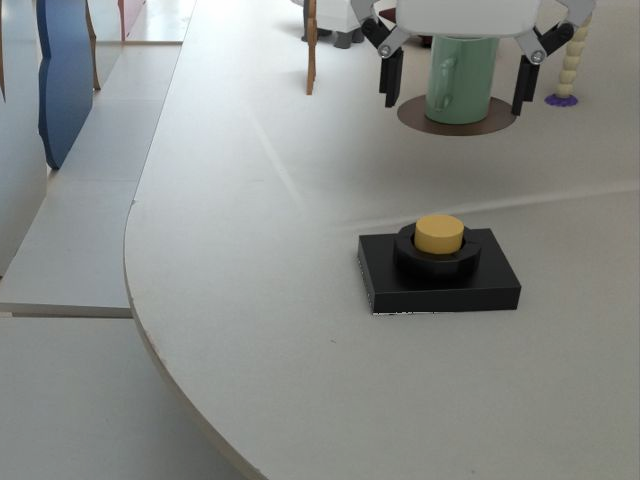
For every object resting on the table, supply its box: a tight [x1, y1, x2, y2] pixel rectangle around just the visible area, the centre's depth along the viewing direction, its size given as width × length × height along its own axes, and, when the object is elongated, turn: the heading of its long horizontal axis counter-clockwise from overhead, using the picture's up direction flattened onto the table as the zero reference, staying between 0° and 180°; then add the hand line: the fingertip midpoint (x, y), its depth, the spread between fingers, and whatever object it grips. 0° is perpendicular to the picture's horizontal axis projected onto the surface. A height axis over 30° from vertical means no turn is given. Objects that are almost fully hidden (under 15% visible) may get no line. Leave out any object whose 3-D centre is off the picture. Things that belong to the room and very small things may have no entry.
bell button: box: [414, 213, 465, 254], centre depth 62 cm, size 4×4×2 cm
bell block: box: [357, 221, 523, 314], centre depth 64 cm, size 11×9×4 cm
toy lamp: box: [543, 12, 593, 108], centre depth 84 cm, size 5×5×17 cm
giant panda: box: [290, 0, 366, 49], centre depth 115 cm, size 15×6×10 cm, turn 43°
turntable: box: [396, 94, 518, 137], centre depth 89 cm, size 13×13×1 cm
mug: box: [423, 36, 501, 125], centre depth 85 cm, size 10×7×9 cm
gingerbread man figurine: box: [306, 0, 318, 96], centre depth 97 cm, size 9×4×12 cm, turn 167°
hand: (452, 105), depth 64 cm, fingers open, 9 cm apart
